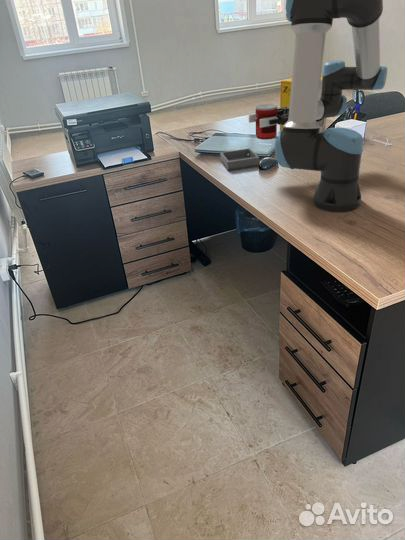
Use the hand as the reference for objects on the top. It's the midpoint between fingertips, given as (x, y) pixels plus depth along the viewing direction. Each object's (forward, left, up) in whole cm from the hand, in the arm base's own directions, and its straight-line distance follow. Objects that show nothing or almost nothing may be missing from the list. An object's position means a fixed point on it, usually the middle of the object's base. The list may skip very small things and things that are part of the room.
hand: (254, 121), depth 145 cm
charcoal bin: (+19, +1, -22) cm, 29 cm away
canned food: (+1, -5, -7) cm, 8 cm away
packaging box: (+51, -41, -22) cm, 69 cm away
